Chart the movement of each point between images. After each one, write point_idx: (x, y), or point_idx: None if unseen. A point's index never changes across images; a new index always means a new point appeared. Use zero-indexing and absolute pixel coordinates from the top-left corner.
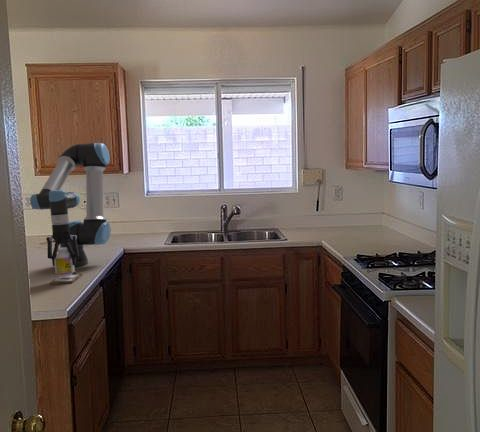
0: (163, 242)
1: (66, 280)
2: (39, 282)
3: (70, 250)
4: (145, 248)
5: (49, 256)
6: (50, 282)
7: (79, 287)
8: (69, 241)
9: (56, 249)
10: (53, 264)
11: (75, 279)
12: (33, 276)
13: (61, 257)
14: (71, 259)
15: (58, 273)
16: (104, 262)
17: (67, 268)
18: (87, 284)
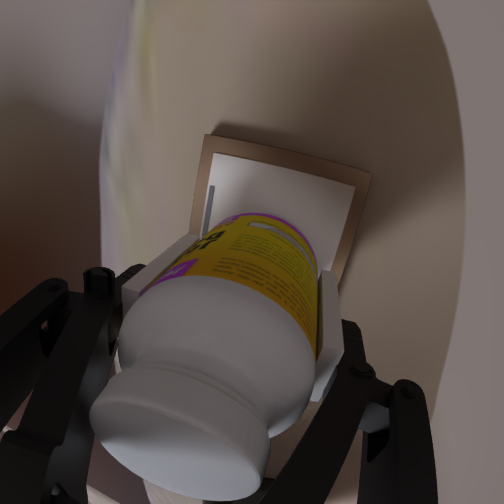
0: (88, 499)
1: (249, 174)
2: (434, 285)
3: (58, 352)
4: (101, 494)
5: (403, 397)
6: (369, 174)
7: (158, 17)
8: None
9: (284, 468)
10: (352, 332)
11: (193, 211)
12: (430, 421)
13: (221, 285)
14: (127, 283)
15: (308, 245)
16: None
17: (210, 232)
18: (118, 76)
